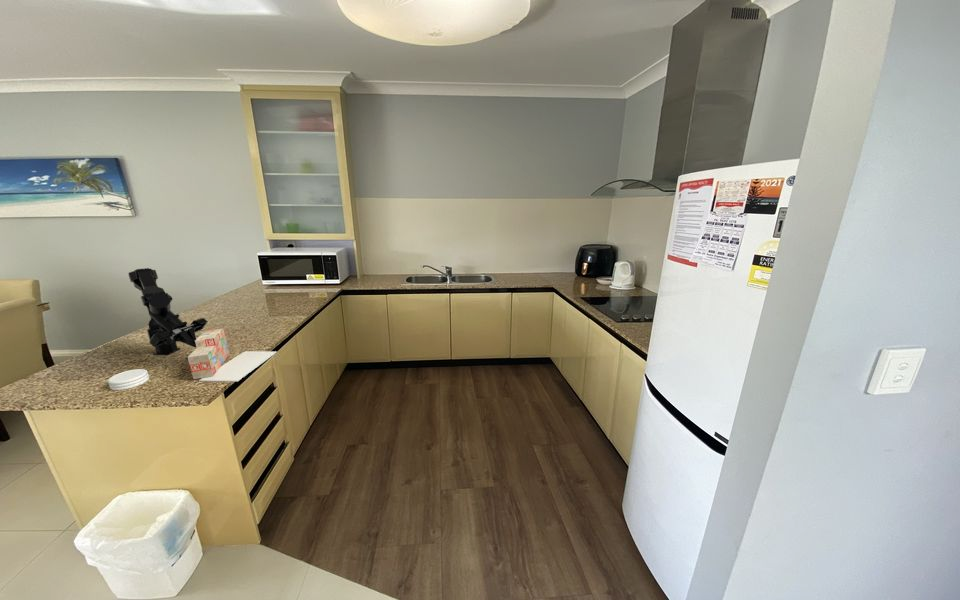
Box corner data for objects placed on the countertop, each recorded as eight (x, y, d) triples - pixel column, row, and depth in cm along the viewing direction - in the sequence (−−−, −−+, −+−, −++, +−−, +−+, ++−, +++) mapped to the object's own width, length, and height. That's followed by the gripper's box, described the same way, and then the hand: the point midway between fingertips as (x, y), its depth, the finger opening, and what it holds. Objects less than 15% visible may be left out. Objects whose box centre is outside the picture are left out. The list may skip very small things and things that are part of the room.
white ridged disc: (142, 374, 124) (139, 366, 123) (155, 380, 120) (152, 372, 119) (105, 386, 115) (102, 378, 114) (117, 393, 111) (114, 385, 110)
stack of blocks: (213, 376, 122) (205, 346, 119) (193, 380, 120) (184, 349, 116) (230, 353, 141) (223, 327, 138) (212, 356, 139) (205, 330, 135)
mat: (199, 381, 120) (198, 380, 119) (244, 352, 144) (244, 351, 143) (237, 381, 120) (237, 380, 120) (276, 352, 144) (276, 351, 144)
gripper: (182, 323, 138) (209, 348, 140) (130, 339, 120) (162, 369, 122) (193, 306, 135) (221, 333, 136) (142, 321, 117) (175, 351, 119)
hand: (196, 346), depth 128 cm, fingers closed
